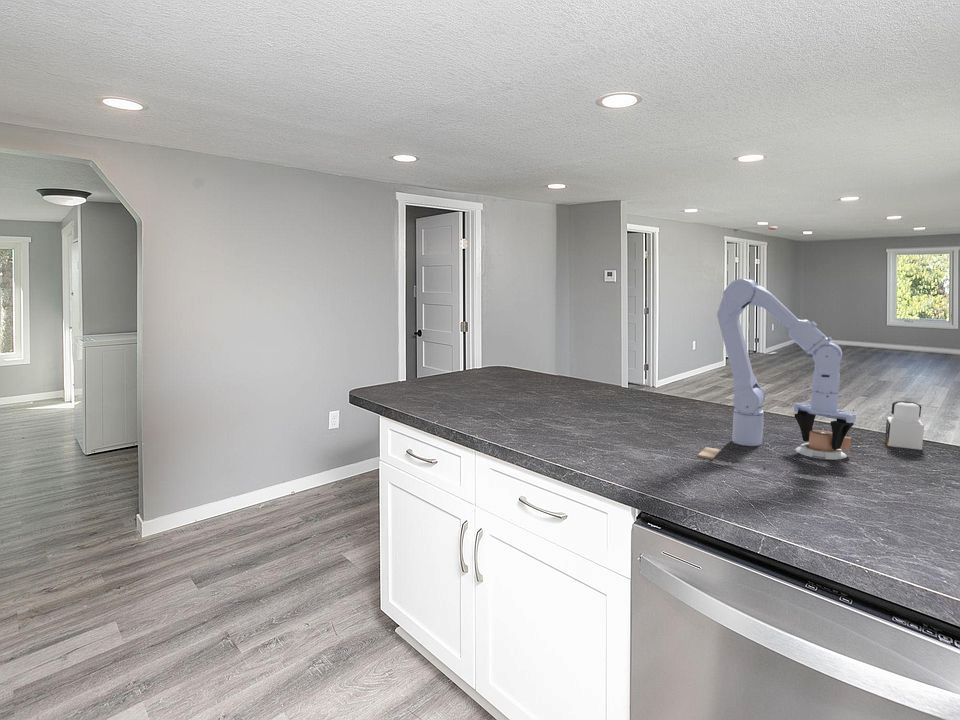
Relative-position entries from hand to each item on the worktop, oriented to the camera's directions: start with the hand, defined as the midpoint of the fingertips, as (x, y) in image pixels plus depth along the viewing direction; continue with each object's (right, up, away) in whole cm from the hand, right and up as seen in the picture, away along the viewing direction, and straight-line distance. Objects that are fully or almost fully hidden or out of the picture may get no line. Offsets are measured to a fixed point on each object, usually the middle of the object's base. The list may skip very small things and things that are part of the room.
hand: (821, 444), depth 141 cm
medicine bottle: (+25, -2, +7) cm, 26 cm away
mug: (+1, -2, -1) cm, 3 cm away
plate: (0, -3, 0) cm, 3 cm away
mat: (-25, -3, +1) cm, 25 cm away
